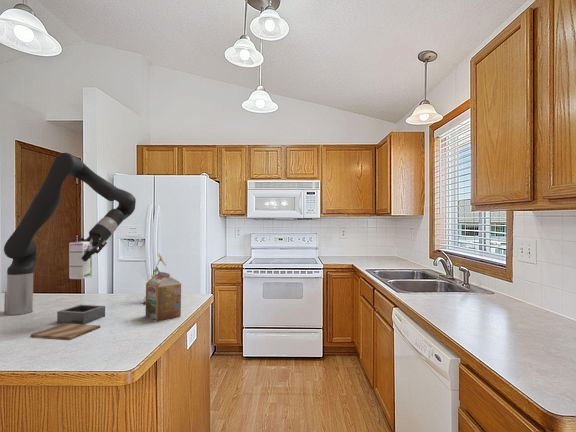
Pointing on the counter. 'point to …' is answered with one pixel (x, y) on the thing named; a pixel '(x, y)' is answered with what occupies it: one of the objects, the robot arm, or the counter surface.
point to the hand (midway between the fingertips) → (76, 259)
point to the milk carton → (163, 297)
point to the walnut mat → (65, 331)
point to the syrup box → (79, 261)
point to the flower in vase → (156, 270)
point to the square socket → (81, 314)
